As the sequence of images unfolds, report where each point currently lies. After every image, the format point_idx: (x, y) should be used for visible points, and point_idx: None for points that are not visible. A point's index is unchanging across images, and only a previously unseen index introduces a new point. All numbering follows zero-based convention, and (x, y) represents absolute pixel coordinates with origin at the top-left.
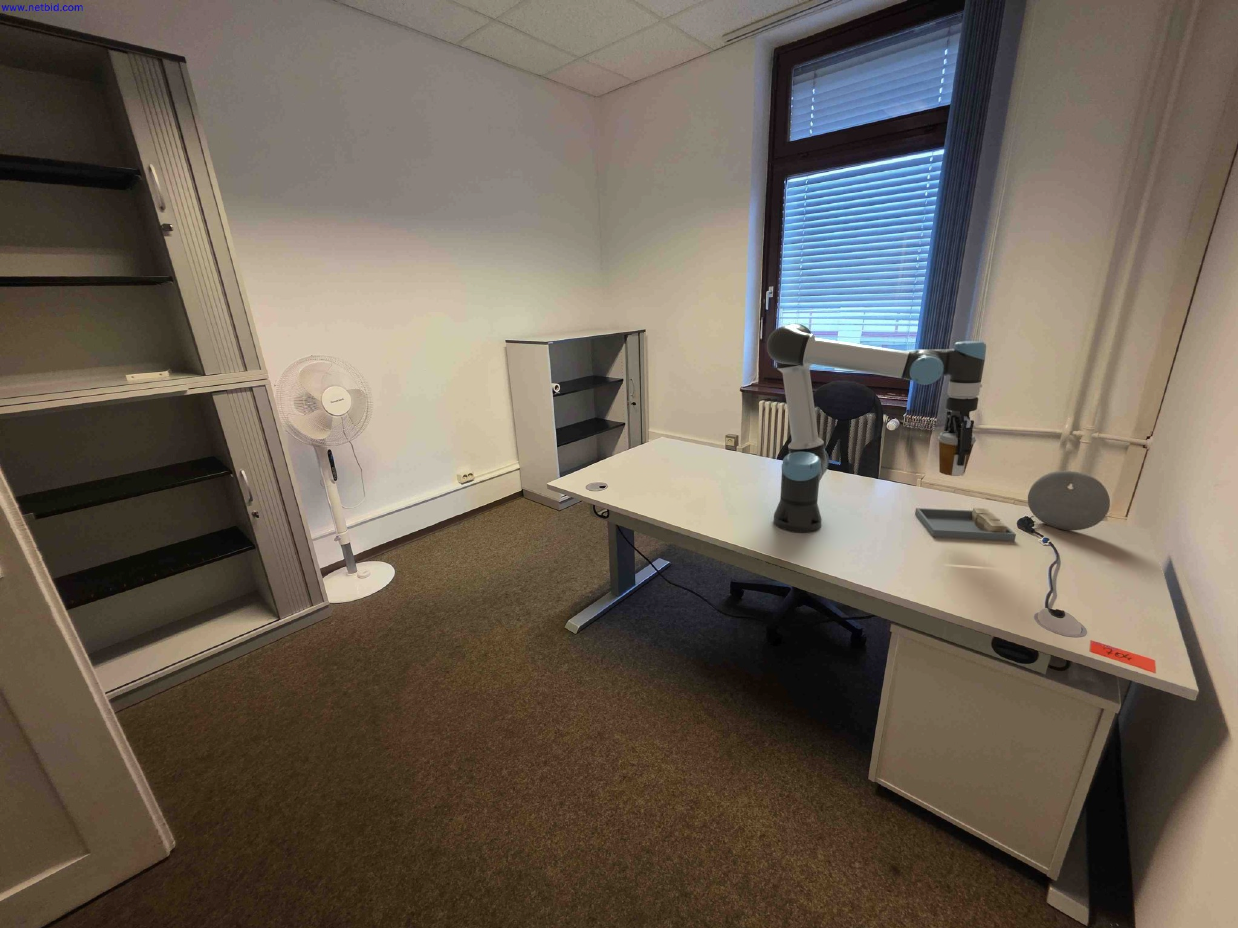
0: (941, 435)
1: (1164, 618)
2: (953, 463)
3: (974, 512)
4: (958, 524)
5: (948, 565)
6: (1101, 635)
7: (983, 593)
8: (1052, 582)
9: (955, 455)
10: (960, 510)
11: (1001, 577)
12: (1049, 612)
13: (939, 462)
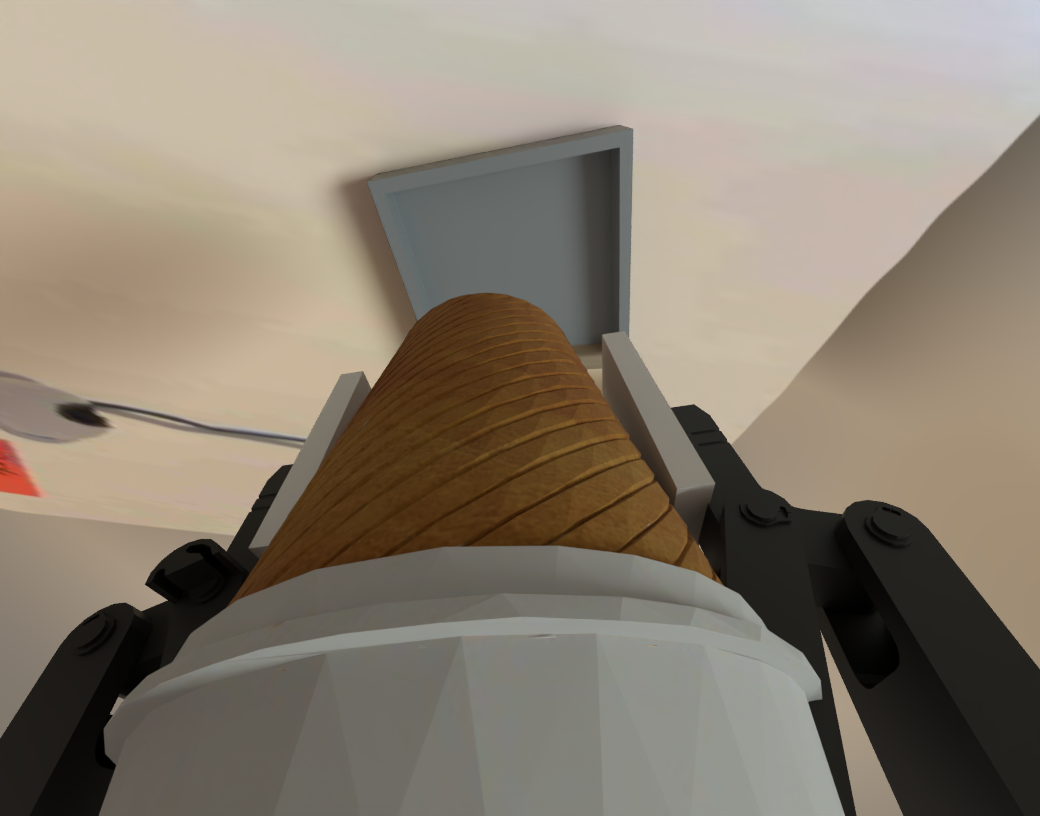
0: None
1: (234, 534)
2: (324, 443)
3: (591, 363)
4: (545, 297)
5: (144, 200)
6: (55, 458)
7: (13, 279)
8: (257, 437)
9: (259, 533)
10: (624, 323)
11: (190, 345)
12: (68, 403)
13: (483, 324)
